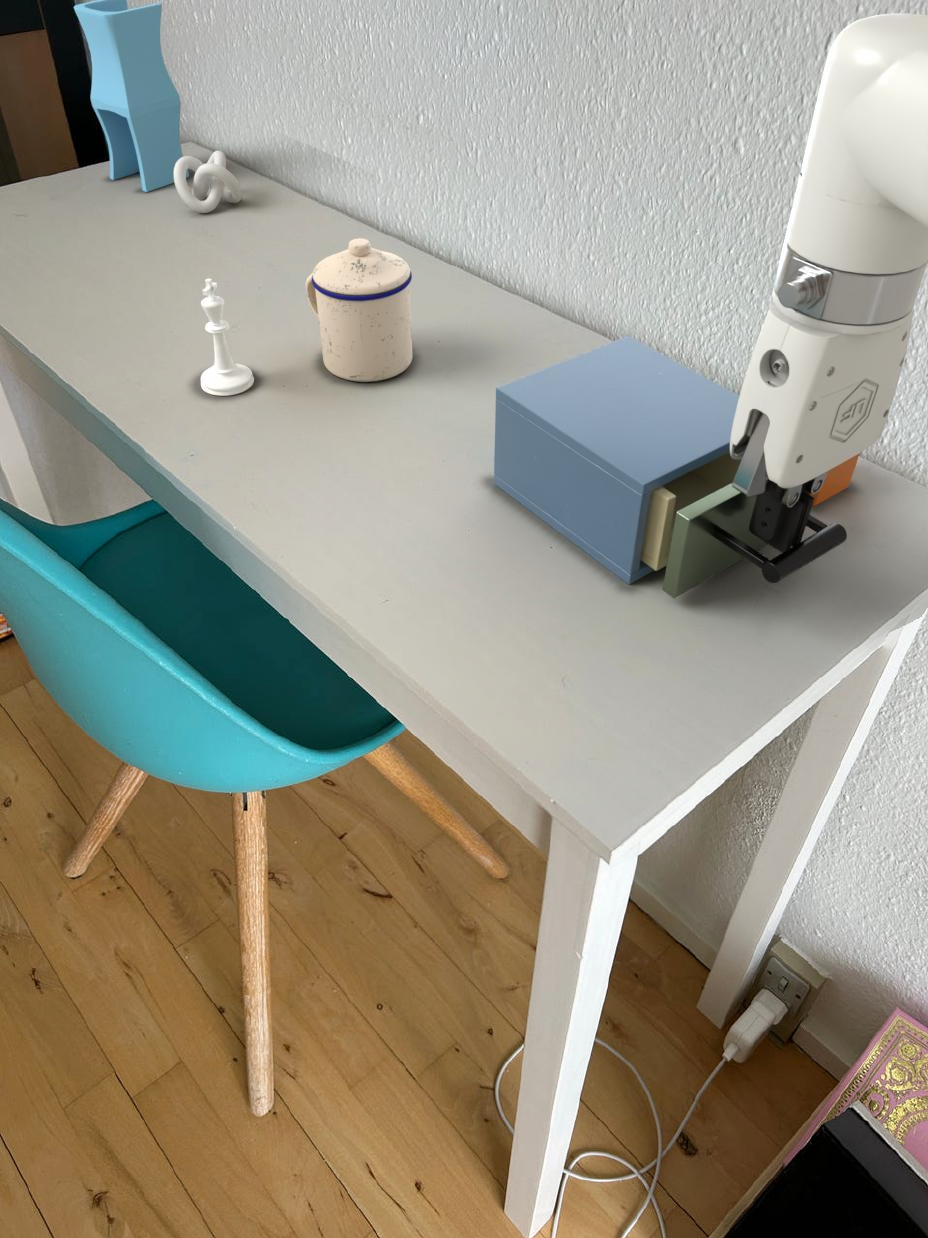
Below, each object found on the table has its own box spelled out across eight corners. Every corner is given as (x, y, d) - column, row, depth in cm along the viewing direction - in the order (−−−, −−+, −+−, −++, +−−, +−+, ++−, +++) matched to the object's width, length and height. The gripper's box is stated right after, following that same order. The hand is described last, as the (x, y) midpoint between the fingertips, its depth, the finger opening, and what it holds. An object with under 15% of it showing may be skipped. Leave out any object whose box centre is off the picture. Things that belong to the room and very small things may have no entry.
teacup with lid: (434, 357, 95) (431, 238, 87) (370, 395, 90) (361, 272, 82) (345, 321, 101) (335, 206, 93) (280, 355, 95) (263, 236, 87)
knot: (258, 198, 126) (251, 150, 122) (225, 221, 120) (217, 171, 116) (207, 191, 128) (199, 143, 124) (173, 212, 122) (163, 163, 118)
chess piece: (190, 390, 91) (168, 286, 84) (219, 365, 94) (199, 264, 87) (236, 400, 89) (217, 295, 82) (263, 375, 93) (247, 272, 86)
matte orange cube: (849, 486, 79) (864, 440, 76) (814, 506, 77) (828, 459, 74) (805, 462, 82) (818, 416, 79) (770, 480, 80) (782, 434, 77)
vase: (194, 175, 132) (162, 3, 118) (146, 191, 127) (108, 15, 114) (157, 162, 135) (122, -6, 122) (109, 178, 131) (68, 5, 117)
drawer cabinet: (756, 514, 77) (780, 417, 70) (629, 585, 70) (644, 484, 64) (616, 428, 86) (627, 335, 80) (493, 483, 80) (495, 387, 74)
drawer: (855, 570, 70) (883, 492, 65) (737, 645, 65) (758, 565, 60) (652, 445, 82) (664, 371, 77) (538, 499, 76) (542, 423, 72)
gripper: (815, 344, 48) (742, 613, 61) (984, 267, 55) (886, 524, 68) (703, 290, 53) (656, 552, 65) (872, 225, 59) (800, 474, 72)
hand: (773, 537), depth 67 cm, fingers closed
